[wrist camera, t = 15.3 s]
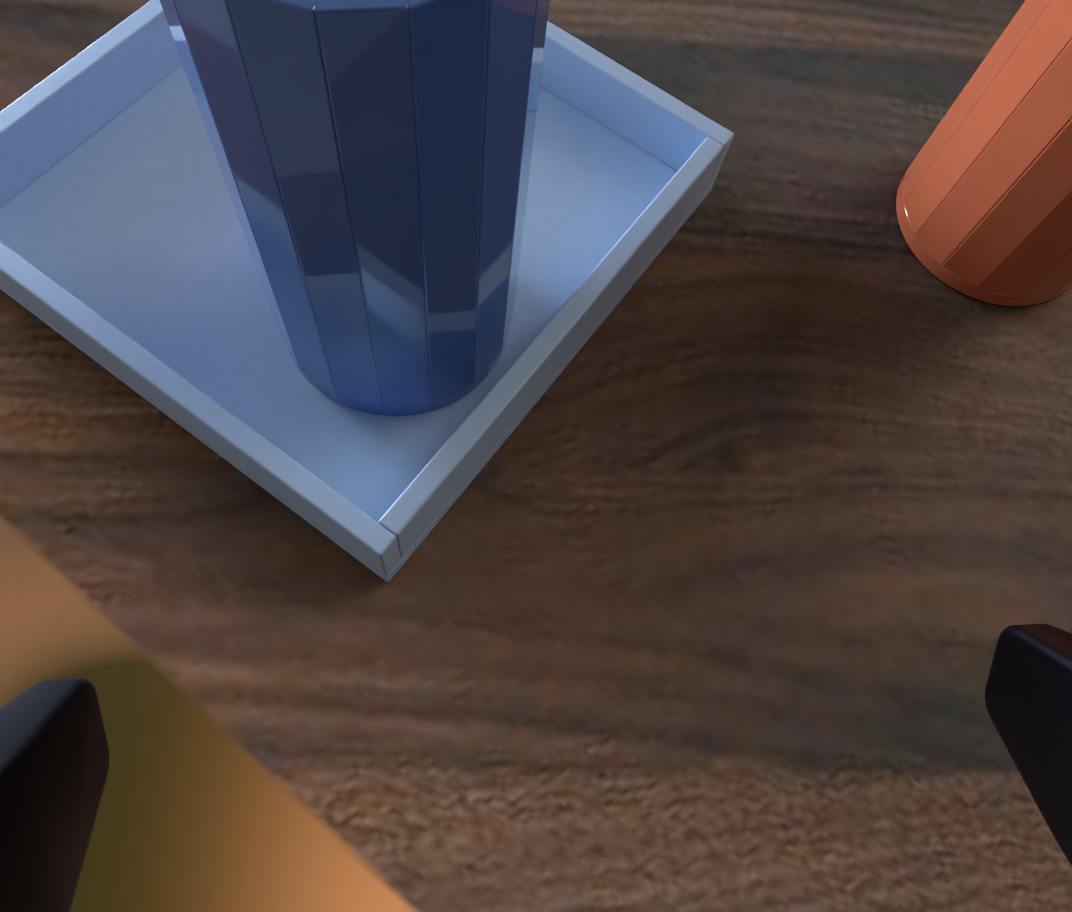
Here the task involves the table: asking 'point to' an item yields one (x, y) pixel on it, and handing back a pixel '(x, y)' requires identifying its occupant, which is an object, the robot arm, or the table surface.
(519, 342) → the blue tray
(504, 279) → the blue cup
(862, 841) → the table surface
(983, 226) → the terracotta cup
